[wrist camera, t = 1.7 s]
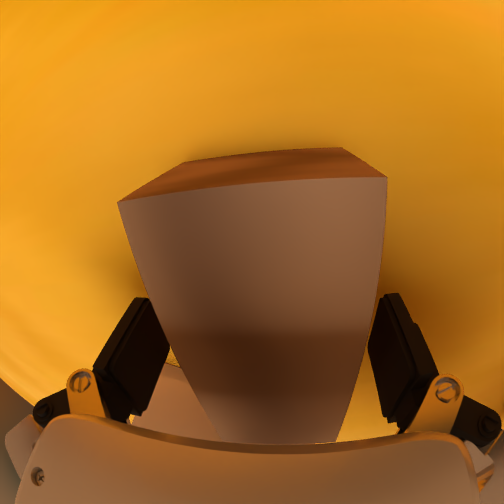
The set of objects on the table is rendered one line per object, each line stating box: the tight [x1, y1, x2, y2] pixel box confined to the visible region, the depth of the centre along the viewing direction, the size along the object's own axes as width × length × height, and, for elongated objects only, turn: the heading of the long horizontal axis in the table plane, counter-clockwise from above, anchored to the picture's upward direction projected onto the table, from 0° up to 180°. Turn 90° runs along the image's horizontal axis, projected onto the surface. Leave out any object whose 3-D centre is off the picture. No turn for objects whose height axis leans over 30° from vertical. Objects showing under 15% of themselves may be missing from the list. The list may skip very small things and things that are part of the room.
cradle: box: [131, 363, 315, 445], centre depth 16 cm, size 11×17×10 cm, turn 165°
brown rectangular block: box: [117, 148, 387, 444], centre depth 11 cm, size 6×13×5 cm, turn 7°
